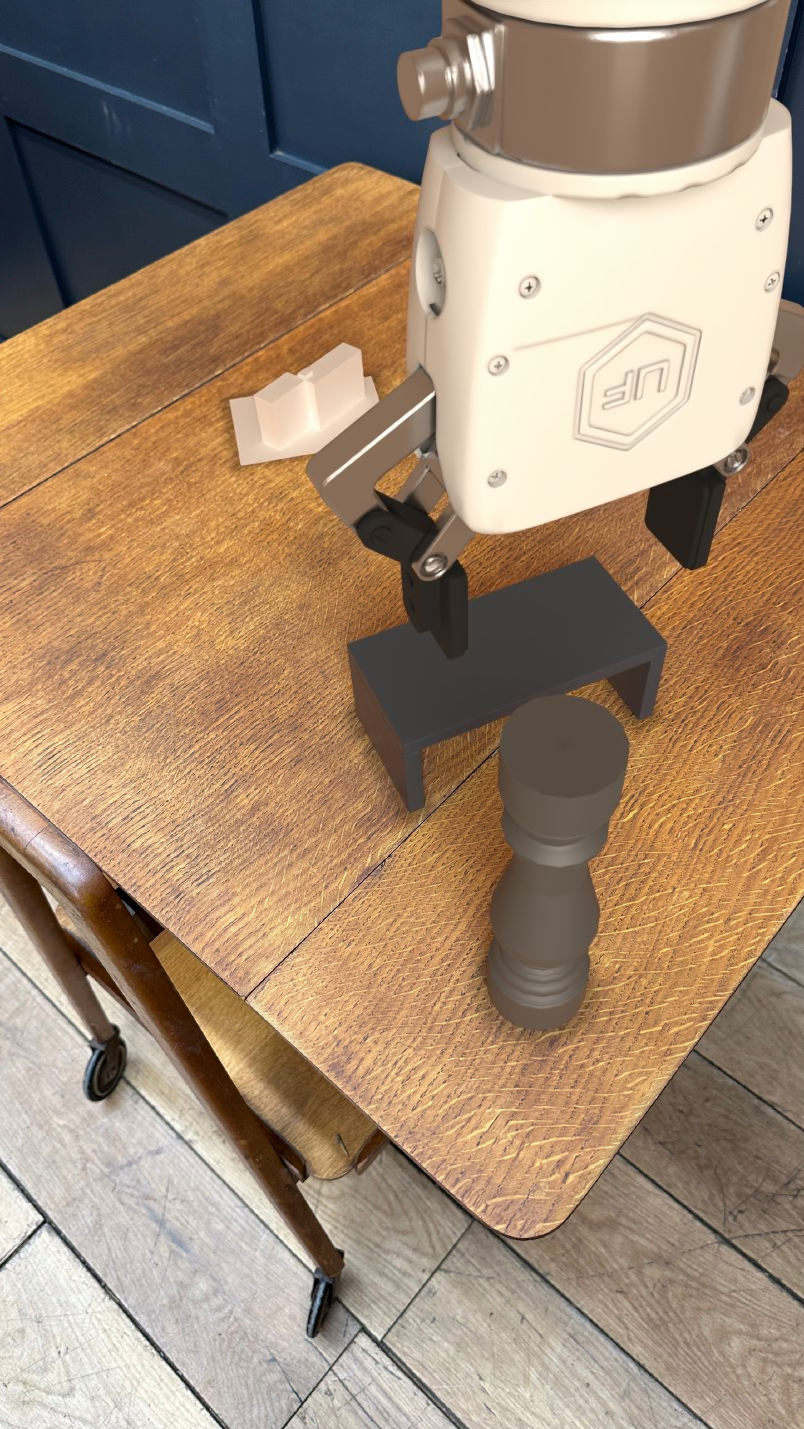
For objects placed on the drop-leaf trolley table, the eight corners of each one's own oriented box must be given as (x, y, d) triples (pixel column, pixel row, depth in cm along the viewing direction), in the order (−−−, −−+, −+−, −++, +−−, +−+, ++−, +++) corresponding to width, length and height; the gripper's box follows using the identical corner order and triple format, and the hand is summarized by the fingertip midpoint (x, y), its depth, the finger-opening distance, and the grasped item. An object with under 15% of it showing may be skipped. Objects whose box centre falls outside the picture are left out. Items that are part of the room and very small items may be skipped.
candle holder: (603, 1008, 63) (663, 774, 44) (512, 1046, 62) (531, 823, 42) (557, 924, 67) (593, 673, 47) (470, 958, 66) (470, 716, 46)
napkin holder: (370, 374, 107) (366, 324, 102) (394, 439, 100) (390, 388, 95) (227, 400, 105) (216, 349, 101) (241, 467, 98) (230, 416, 94)
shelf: (584, 628, 83) (594, 554, 77) (652, 715, 77) (668, 643, 71) (356, 714, 79) (346, 643, 72) (409, 813, 73) (403, 745, 67)
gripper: (325, 220, 20) (382, 746, 33) (1020, 39, 24) (821, 577, 37) (211, 87, 24) (302, 599, 38) (812, -48, 28) (702, 461, 42)
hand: (559, 587), depth 37 cm, fingers open, 9 cm apart
